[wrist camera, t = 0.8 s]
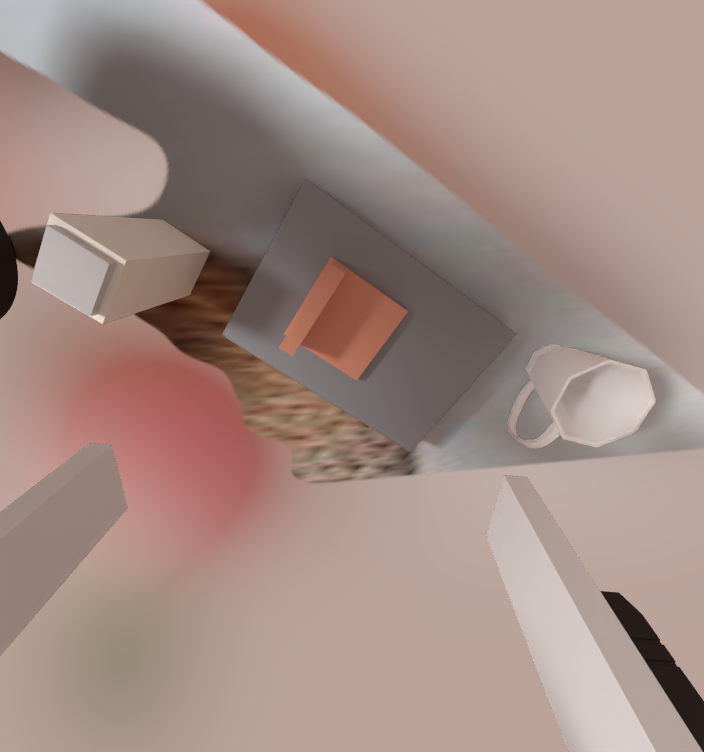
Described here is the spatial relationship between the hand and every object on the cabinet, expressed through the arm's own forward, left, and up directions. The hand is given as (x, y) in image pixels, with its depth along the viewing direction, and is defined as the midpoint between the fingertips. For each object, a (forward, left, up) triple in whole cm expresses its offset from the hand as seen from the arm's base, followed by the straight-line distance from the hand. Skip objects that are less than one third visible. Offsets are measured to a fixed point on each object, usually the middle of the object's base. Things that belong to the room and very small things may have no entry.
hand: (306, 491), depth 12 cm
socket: (+1, +1, -22) cm, 22 cm away
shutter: (-1, +1, -19) cm, 19 cm away
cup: (+17, +6, -22) cm, 28 cm away
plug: (-16, -3, -22) cm, 27 cm away
